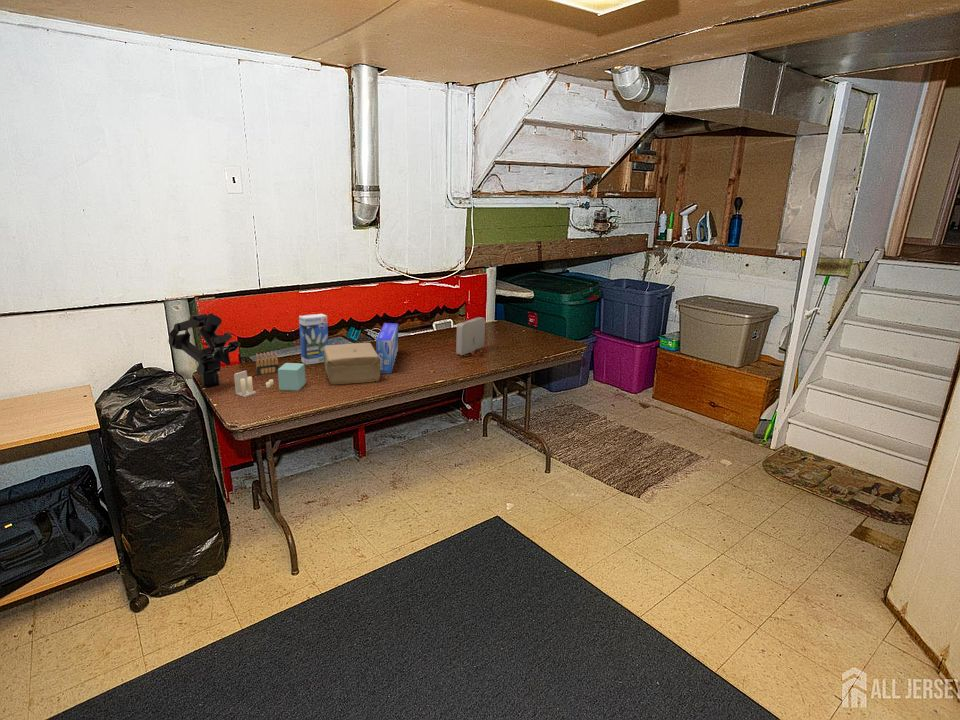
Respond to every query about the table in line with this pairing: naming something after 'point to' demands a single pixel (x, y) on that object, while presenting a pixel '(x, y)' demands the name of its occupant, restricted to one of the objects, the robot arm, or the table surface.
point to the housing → (291, 376)
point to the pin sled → (243, 384)
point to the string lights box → (313, 338)
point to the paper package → (351, 363)
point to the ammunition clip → (267, 364)
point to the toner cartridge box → (387, 346)
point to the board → (269, 383)
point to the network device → (470, 335)
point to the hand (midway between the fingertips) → (229, 364)
